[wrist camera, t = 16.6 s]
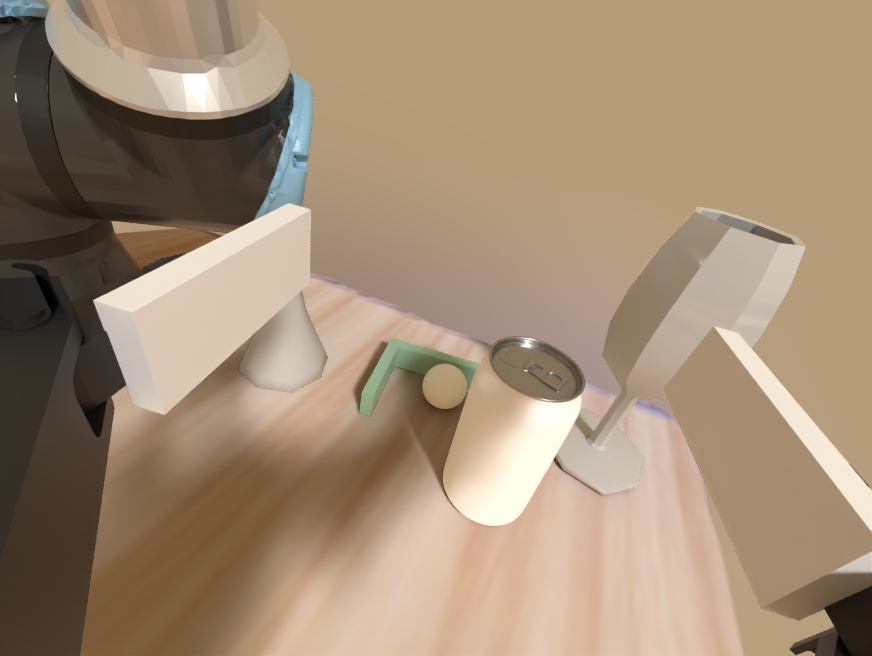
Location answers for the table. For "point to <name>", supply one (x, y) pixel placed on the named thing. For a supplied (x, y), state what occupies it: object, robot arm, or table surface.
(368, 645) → the table surface
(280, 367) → the flask
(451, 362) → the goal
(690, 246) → the wineglass
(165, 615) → the table surface
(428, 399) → the ball
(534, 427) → the can
